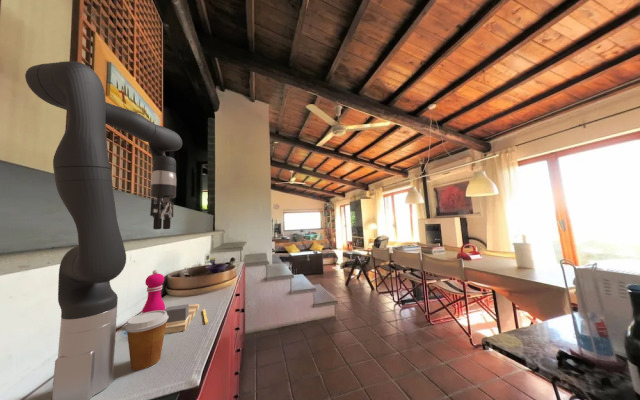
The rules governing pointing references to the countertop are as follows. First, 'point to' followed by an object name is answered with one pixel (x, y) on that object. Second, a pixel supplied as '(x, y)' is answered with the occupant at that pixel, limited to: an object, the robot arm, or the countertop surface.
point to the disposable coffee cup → (146, 338)
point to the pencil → (205, 317)
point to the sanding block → (177, 314)
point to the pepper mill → (154, 293)
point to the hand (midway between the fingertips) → (162, 229)
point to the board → (182, 326)
